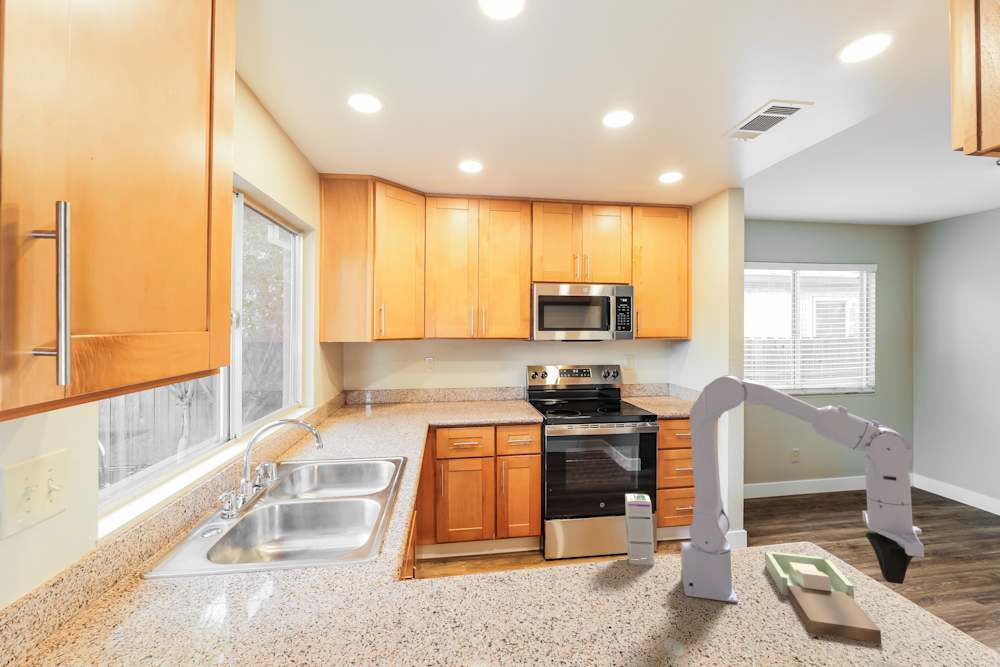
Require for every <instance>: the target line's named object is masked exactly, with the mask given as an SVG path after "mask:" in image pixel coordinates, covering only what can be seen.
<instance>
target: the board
mask: <svg viewBox="0 0 1000 667" xmlns="http://www.w3.org/2000/svg"><path fill="white" fill-rule="evenodd" d="M787 596H788V597H789V600H790V601H791V602H792V604H793V606H794V608H795V609H796V611H797V612H798V613H799V616H800V617H801V619H802V621H803V622H804V624H805V625H806V628H808V630H809V632H810V633H814V634H818V635H826V636H833V637H839V638H845V639H853V640H860V641H864V642H865V641H866V642H870V643H871V642H873V643H879V644H882V634H881V633H882V632H881V630H880V628H879V627H878V626H877V625H876V624H875V622H874V621H873V620H872V619H871V617H869V616H868V614H867V613H866V612H865V610H863V609H862V607H861V606H860V605H859V604H858V603H857V601H856V600H855V598H854V599H853V598H852V597H851V596H850V595H849V594H848V593H847V592H839V591H826V590H818V589H810V588H804V587H799V586H791V585H788V595H787Z"/></svg>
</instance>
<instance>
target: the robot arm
mask: <svg viewBox="0 0 1000 667" xmlns="http://www.w3.org/2000/svg"><path fill="white" fill-rule="evenodd" d="M744 401H746V403H745V406H749V407H751V406H766V407H769V408H772V409H774V410H777V411H779V412H782V413H784V414H787V415H789V416H792V417H793V418H797V419H798V420H801V421H804V422H807V423H809V424H811V426H812V428H813V430H814V432H815V434H817V435H819V436H821V437H824V438H826V439H828V440H830V441H833V442H835V443H837V444H839V445H842V446H843V447H846V448H849V449H851V450H853V451H855V452H865V453H866V455H865V458H866V460H865V461H866V469H865V471H864V472H865V490H866V506H867V508H866V509H867V510H862V512H861V513H862V514H861V515H862V522H864V523H865V525H866V528H868V529H869V530H870V531H873V532H866V533H865V537H866V539H867V540H868V542H869V543H870V545H871V546H872V549H873V550H874V554H875V556H876V559H877V562H878V565H879V568H880V571H881V574H882V576H883V579H884V580H885V581H886V582H887V583H890V584H898V585H903V583H904V581H905V579H906V578H905V577H906V574H907V570H908V567H909V564H910V562H911V560H912V559H913V557H921V558H924V557H925V547H924V544H923V542H921V541H920V540H919V538H918V535H922V533H923V532H922V529H921V528H919V527H918V526H914V524H913V523H914V522H913V507H912V490H911V489H912V488H911V478H910V474H909V462H910V461H911V460H912V457H913V454H914V453H913V452H914V451H913V450H912V448H911V446H910V444H909V442H908V441H907V439H906V438H904V437H903V435H901V434H900V433H899V432H897V431H896V430H894V429H893V428H890V427H889V426H887V425H882V424H881V423H880V421H877V420H875V419H872V420H871V421H870V420H867V419H864V418H863V417H860V416H857V415H855V414H853V413H850V412H848V408H847V407H844V406H842V405H837V407H836V406H833V405H827V406H822V407H817V406H814V405H812V404H810V403H808V402H805V401H803V400H801V399H798V398H796V397H794V396H791V395H789V394H787V393H785V392H783V391H781V390H778V389H777V388H774V387H771V386H770V385H767V384H764V383H761V382H759V381H754V380H752V379H748V378H742V377H740V376H738V375H736V374H726V375H723V376H719V377H717V378H715V379H713V380H712V381H711V382H710V383H708V384H707V385H706V386H704V387H703V389H702V391H701V393H700V395H699V396H698V397H697V399H696V400H695V402H694V404H693V405H692V407H691V408H690V410H689V427H690V442H691V444H690V445H691V456H692V469H693V473H692V474H693V483H694V485H693V486H694V506H693V512H692V513H693V515H692V516H693V517H692V519H693V520H692V523H691V524H690V526H689V531H688V532H689V536H690V537H689V538H690V540H691V541H686V542H685V541H684V542H680V558H681V559H680V562H681V563H680V564H681V569H680V579H681V581H682V585H683V586H682V587H683V591H684V595H685V596H687V597H692V598H694V597H695V598H700V599H707V600H714V601H715V600H716V601H720V602H721V601H722V602H727V603H728V602H731V603H738V601H739V599H738V597H737V594H736V592H735V590H734V586H733V581H732V580H733V576H732V559H731V558H732V556H731V555H732V553H731V544H730V543H729V541H728V540H727V537H726V536H727V533H728V532H729V530H730V527H731V526H730V525H731V522H730V520H729V517H728V515H727V513H726V512H725V509H724V501H723V499H722V495H721V494H722V492H721V481H720V470H719V469H720V468H719V466H720V465H719V455H718V441H717V425H716V421H717V419H719V418H720V417H721V416H722V415H723V414H724V413H726V412H728V411H730V410H733V409H735V408H737V407H739V406H740V405H741V404H742V403H743V402H744Z"/></svg>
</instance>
